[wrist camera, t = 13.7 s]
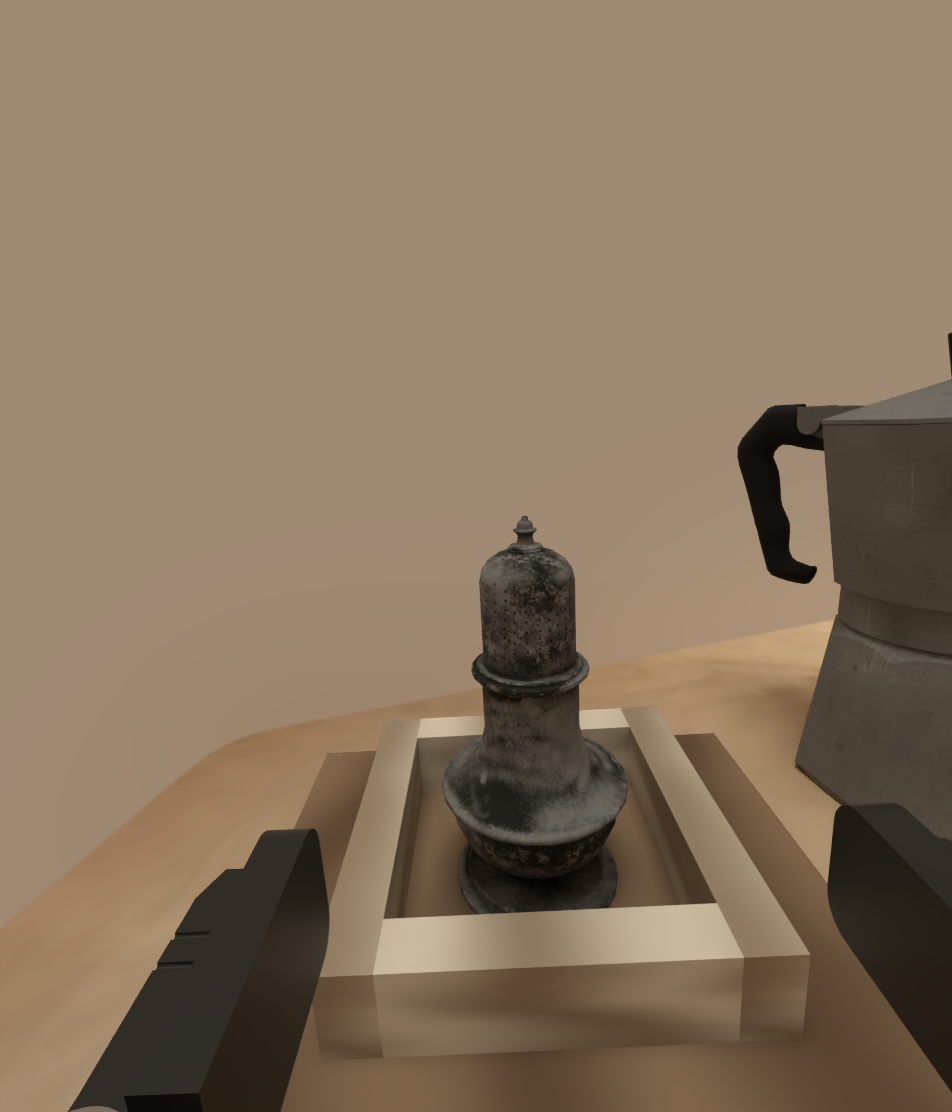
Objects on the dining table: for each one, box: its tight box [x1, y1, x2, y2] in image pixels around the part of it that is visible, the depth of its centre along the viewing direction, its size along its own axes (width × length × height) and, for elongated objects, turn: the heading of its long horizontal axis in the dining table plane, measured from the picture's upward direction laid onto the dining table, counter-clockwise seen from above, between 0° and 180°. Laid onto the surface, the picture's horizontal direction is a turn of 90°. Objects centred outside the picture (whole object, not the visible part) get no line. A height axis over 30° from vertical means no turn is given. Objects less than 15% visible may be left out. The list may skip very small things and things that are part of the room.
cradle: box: [281, 706, 952, 1112], centre depth 19 cm, size 18×15×4 cm
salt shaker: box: [442, 516, 628, 915], centre depth 18 cm, size 6×6×12 cm
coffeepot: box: [737, 333, 952, 842], centre depth 23 cm, size 15×9×18 cm, turn 32°
